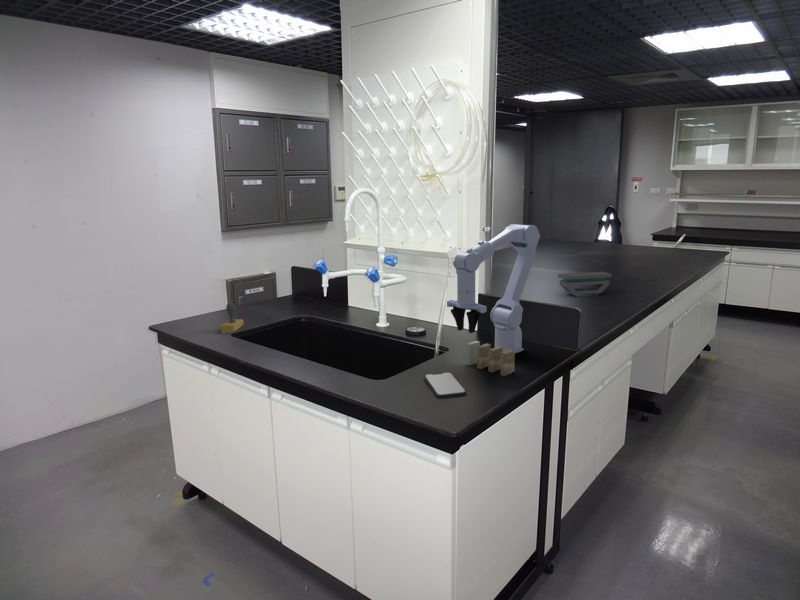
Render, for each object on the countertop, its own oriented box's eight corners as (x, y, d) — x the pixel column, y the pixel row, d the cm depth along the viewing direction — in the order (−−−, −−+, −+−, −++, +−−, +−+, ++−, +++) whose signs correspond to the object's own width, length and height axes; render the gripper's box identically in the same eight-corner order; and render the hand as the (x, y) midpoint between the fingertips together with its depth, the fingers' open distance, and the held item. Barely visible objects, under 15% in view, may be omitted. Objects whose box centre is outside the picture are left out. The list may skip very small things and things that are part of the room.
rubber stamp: (234, 334, 213) (232, 305, 210) (221, 334, 213) (218, 305, 211) (244, 327, 223) (241, 300, 220) (231, 327, 223) (228, 300, 221)
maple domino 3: (500, 374, 159) (500, 352, 158) (509, 370, 163) (510, 349, 161) (504, 376, 158) (505, 353, 157) (514, 371, 162) (514, 350, 160)
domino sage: (465, 364, 169) (465, 343, 167) (475, 361, 172) (475, 340, 171) (469, 365, 168) (469, 344, 166) (479, 362, 171) (479, 341, 170)
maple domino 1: (476, 368, 166) (476, 346, 164) (486, 364, 169) (486, 343, 167) (480, 369, 164) (481, 347, 163) (490, 365, 168) (490, 344, 166)
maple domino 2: (488, 371, 162) (488, 349, 161) (497, 367, 166) (498, 346, 164) (492, 372, 161) (492, 350, 160) (502, 368, 165) (502, 347, 163)
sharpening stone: (602, 292, 273) (603, 271, 271) (610, 295, 266) (611, 274, 263) (557, 294, 270) (557, 273, 268) (563, 297, 263) (564, 276, 260)
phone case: (468, 397, 144) (451, 376, 160) (468, 392, 144) (451, 371, 159) (437, 401, 143) (422, 379, 158) (437, 395, 142) (422, 374, 158)
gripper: (440, 289, 169) (441, 329, 172) (477, 294, 159) (476, 337, 162) (454, 286, 174) (454, 325, 177) (490, 291, 164) (490, 333, 167)
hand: (466, 331), depth 169 cm, fingers open, 4 cm apart
